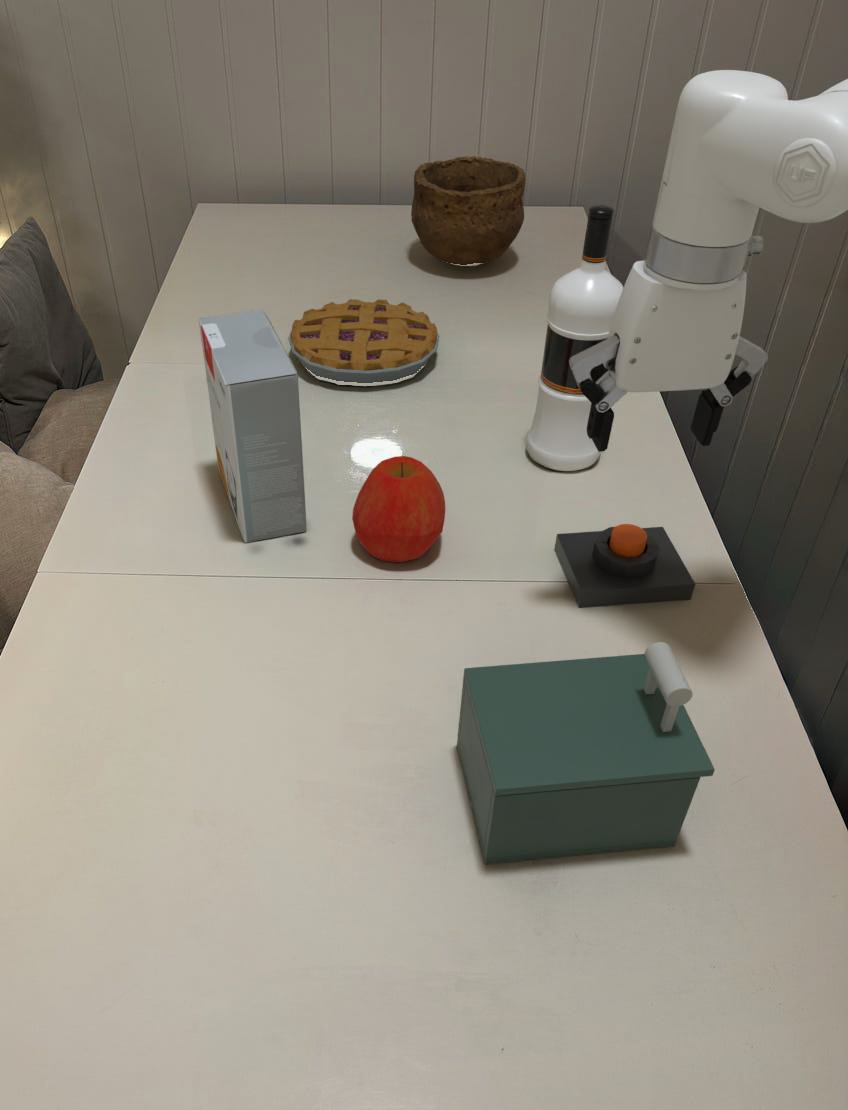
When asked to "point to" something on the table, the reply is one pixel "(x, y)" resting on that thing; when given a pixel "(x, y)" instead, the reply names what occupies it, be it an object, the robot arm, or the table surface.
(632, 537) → the release button
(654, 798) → the hinged box
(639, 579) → the control block
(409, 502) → the apple
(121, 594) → the table surface
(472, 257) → the bowl
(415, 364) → the pie
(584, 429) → the vodka
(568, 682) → the box lid
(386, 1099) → the table surface
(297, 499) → the hard drive box
